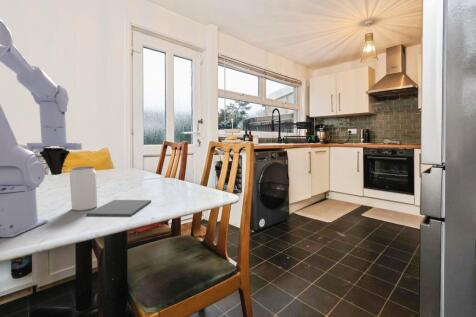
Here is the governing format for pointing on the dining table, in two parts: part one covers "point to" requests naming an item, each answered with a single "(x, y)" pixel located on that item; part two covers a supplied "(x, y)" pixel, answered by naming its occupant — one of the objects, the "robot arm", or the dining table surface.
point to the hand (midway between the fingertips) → (56, 174)
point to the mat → (119, 208)
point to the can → (83, 188)
